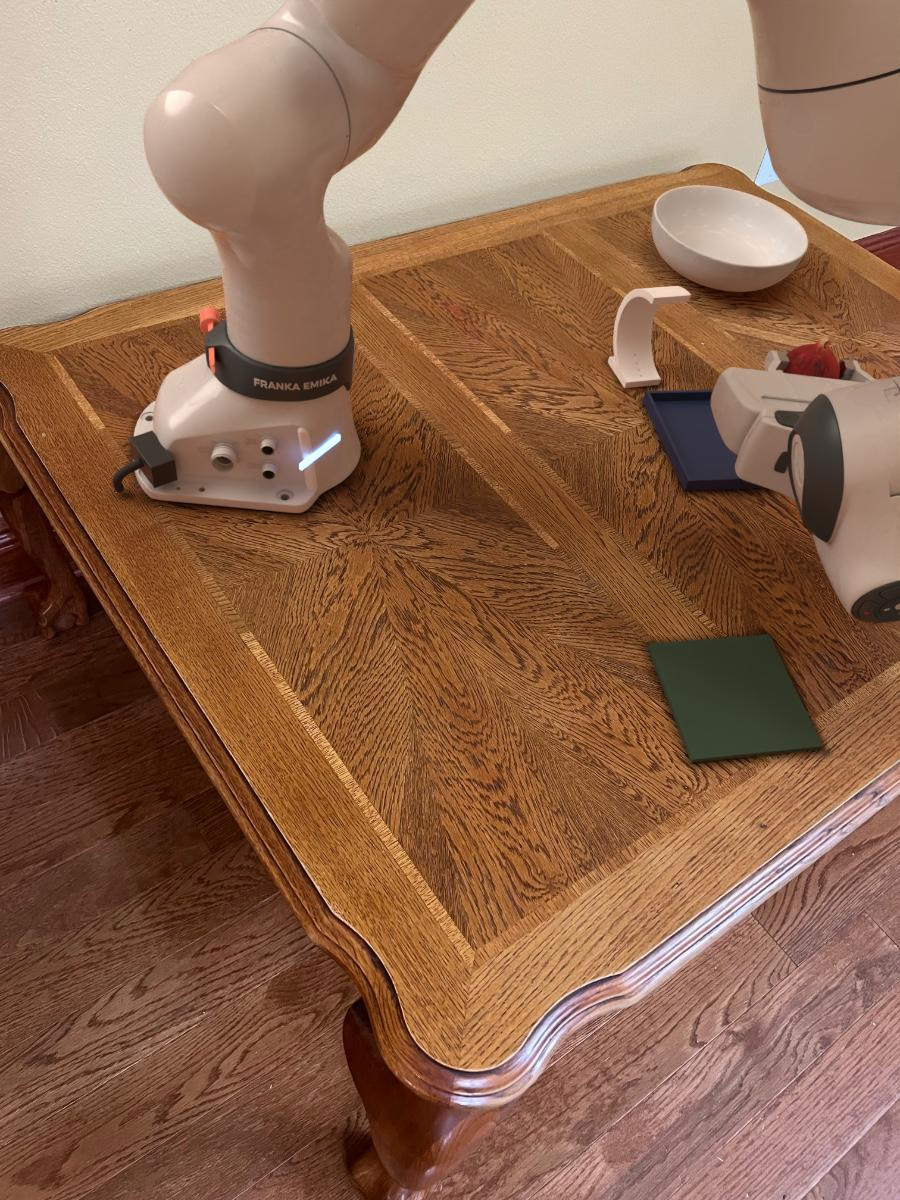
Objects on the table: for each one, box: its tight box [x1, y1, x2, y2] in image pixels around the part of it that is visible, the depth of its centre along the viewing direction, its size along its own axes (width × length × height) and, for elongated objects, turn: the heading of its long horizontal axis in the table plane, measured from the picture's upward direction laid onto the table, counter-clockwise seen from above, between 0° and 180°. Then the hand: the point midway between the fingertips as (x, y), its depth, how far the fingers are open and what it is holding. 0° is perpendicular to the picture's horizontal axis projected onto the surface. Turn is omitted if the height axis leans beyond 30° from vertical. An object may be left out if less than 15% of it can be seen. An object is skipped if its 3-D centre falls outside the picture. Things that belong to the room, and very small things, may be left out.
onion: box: [784, 336, 840, 380], centre depth 88 cm, size 6×6×8 cm
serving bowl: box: [650, 184, 809, 293], centre depth 127 cm, size 21×21×7 cm
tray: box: [642, 389, 766, 492], centre depth 105 cm, size 15×15×2 cm
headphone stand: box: [607, 285, 692, 389], centre depth 107 cm, size 5×6×12 cm
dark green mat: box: [646, 633, 824, 764], centre depth 83 cm, size 12×12×1 cm
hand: (809, 361), depth 88 cm, fingers closed on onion, 5 cm apart
